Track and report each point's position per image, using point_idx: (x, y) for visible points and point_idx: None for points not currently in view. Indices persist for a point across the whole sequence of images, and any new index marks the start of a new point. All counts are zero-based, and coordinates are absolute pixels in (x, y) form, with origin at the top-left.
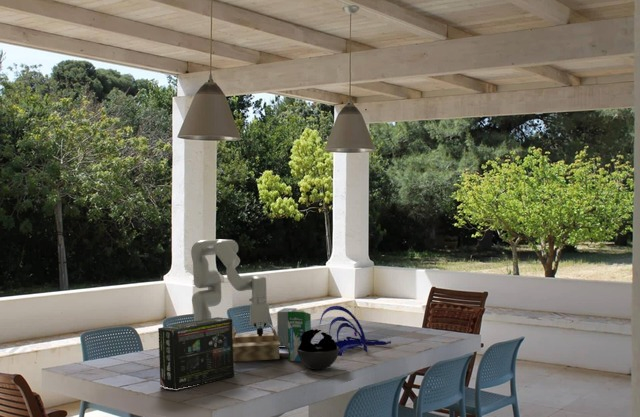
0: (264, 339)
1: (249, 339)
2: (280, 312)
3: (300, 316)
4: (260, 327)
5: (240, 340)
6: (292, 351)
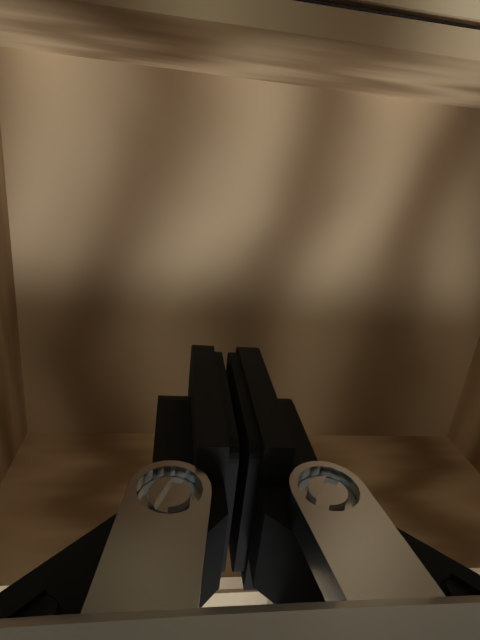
0: None
1: None
2: None
3: None
4: (223, 538)
5: (420, 532)
6: None
